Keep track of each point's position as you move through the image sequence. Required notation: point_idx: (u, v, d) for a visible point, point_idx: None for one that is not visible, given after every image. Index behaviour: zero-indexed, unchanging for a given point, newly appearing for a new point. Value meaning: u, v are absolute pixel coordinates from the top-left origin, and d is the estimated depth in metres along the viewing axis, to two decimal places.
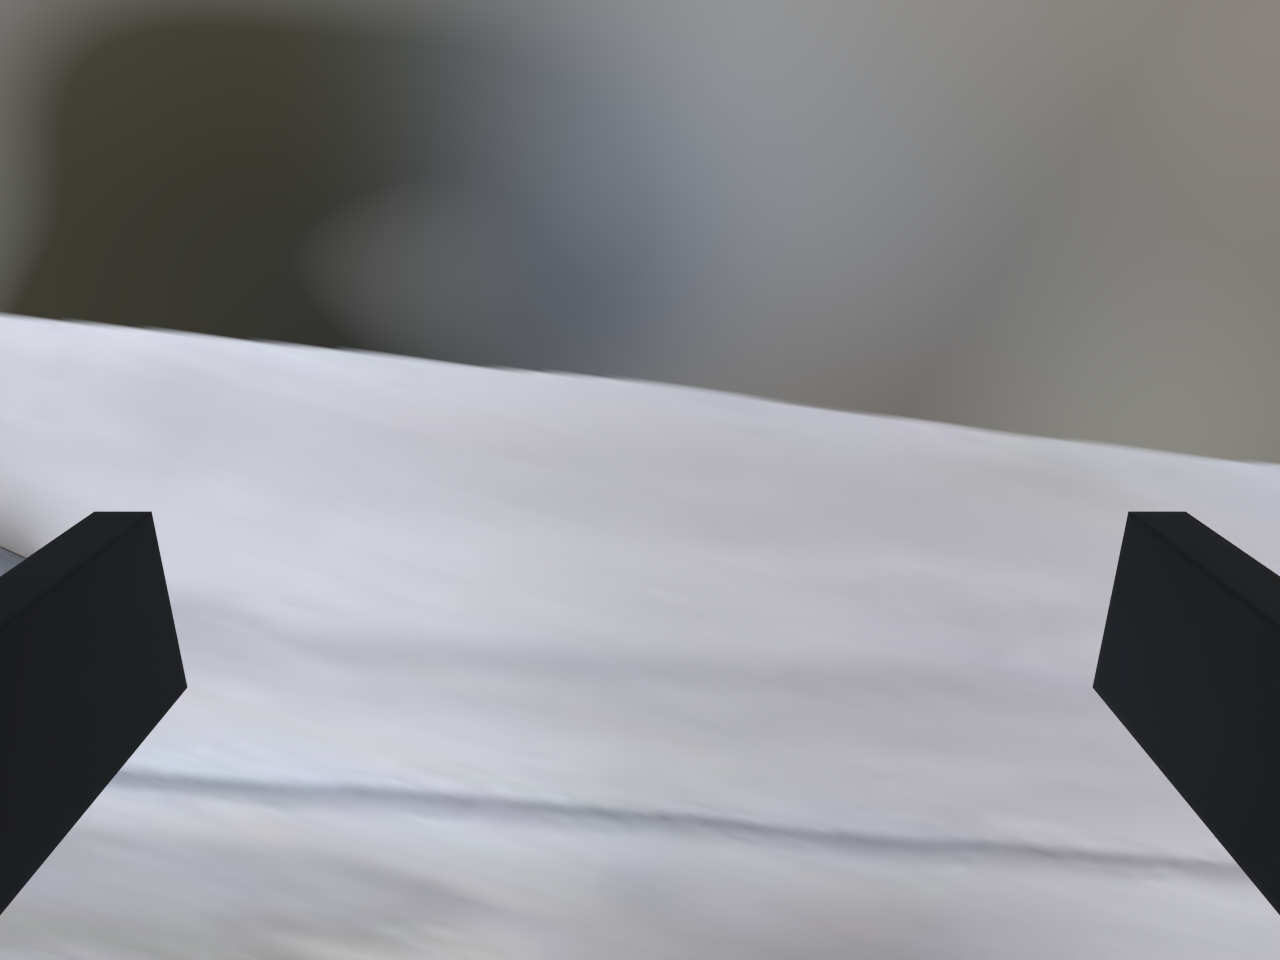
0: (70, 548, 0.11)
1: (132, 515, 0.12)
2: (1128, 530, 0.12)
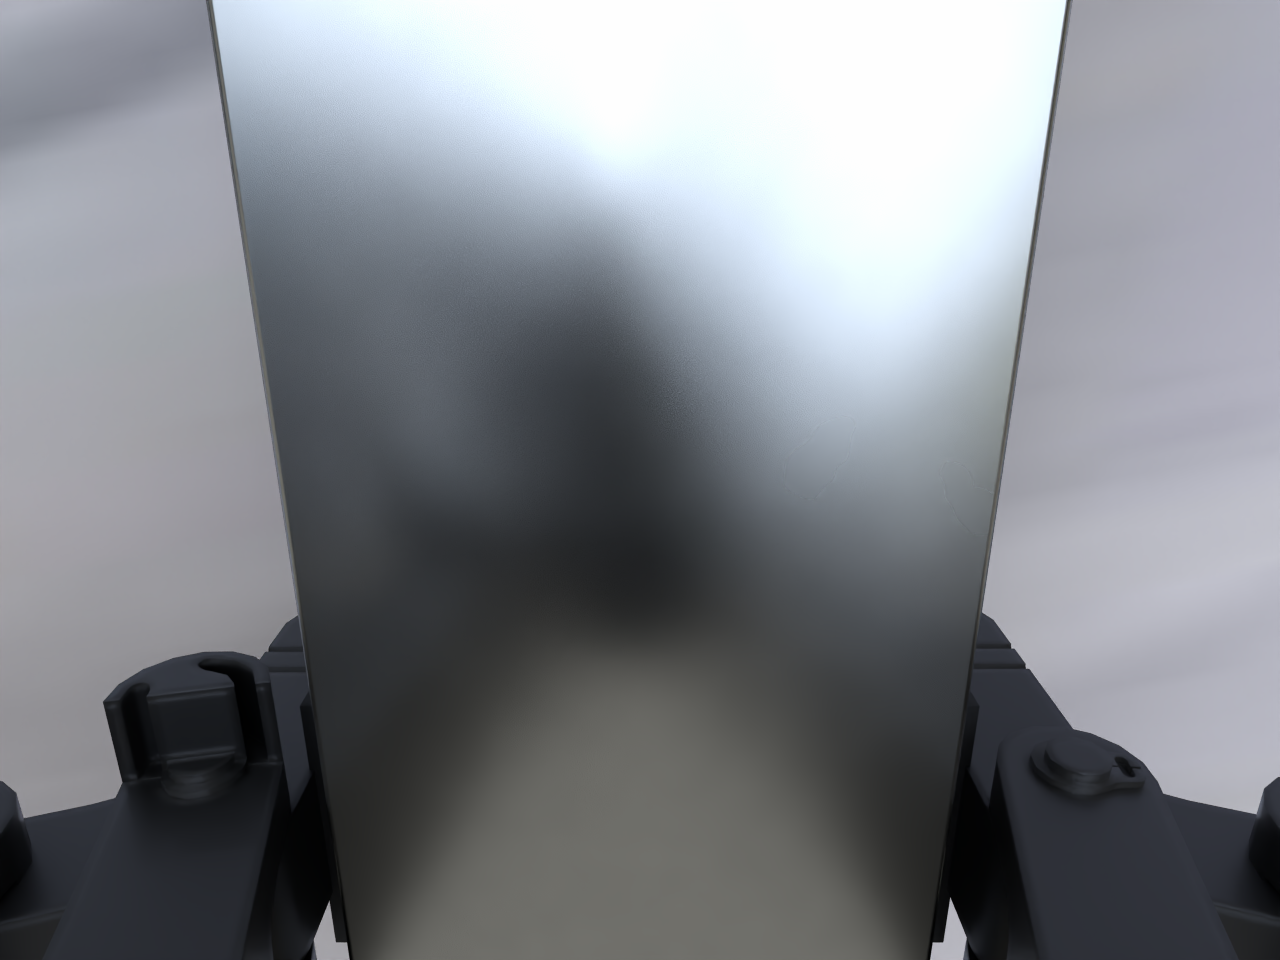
0: None
1: None
2: None
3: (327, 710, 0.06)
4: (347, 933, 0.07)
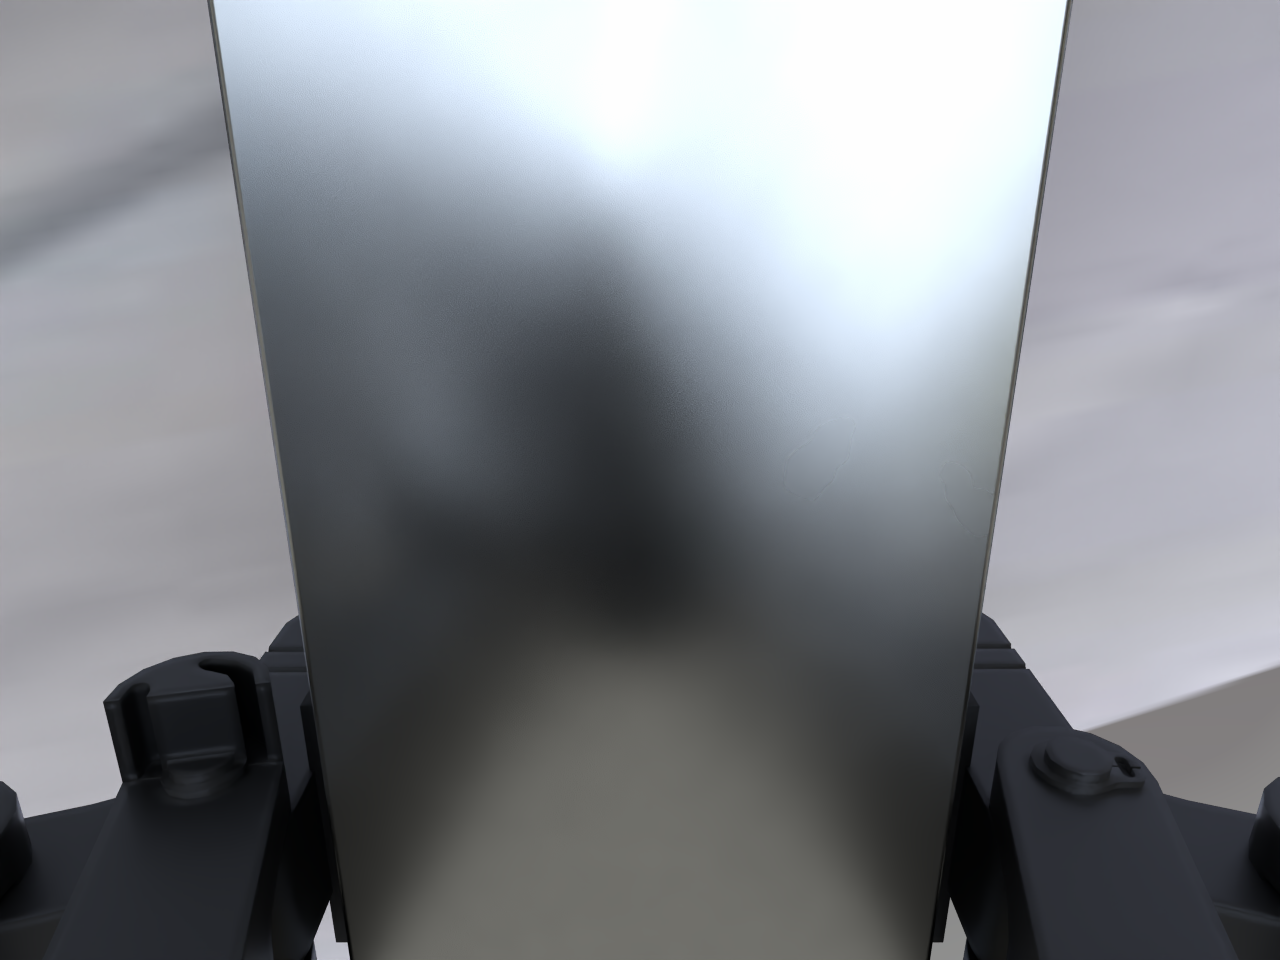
0: None
1: None
2: None
3: (328, 710, 0.06)
4: (347, 933, 0.07)
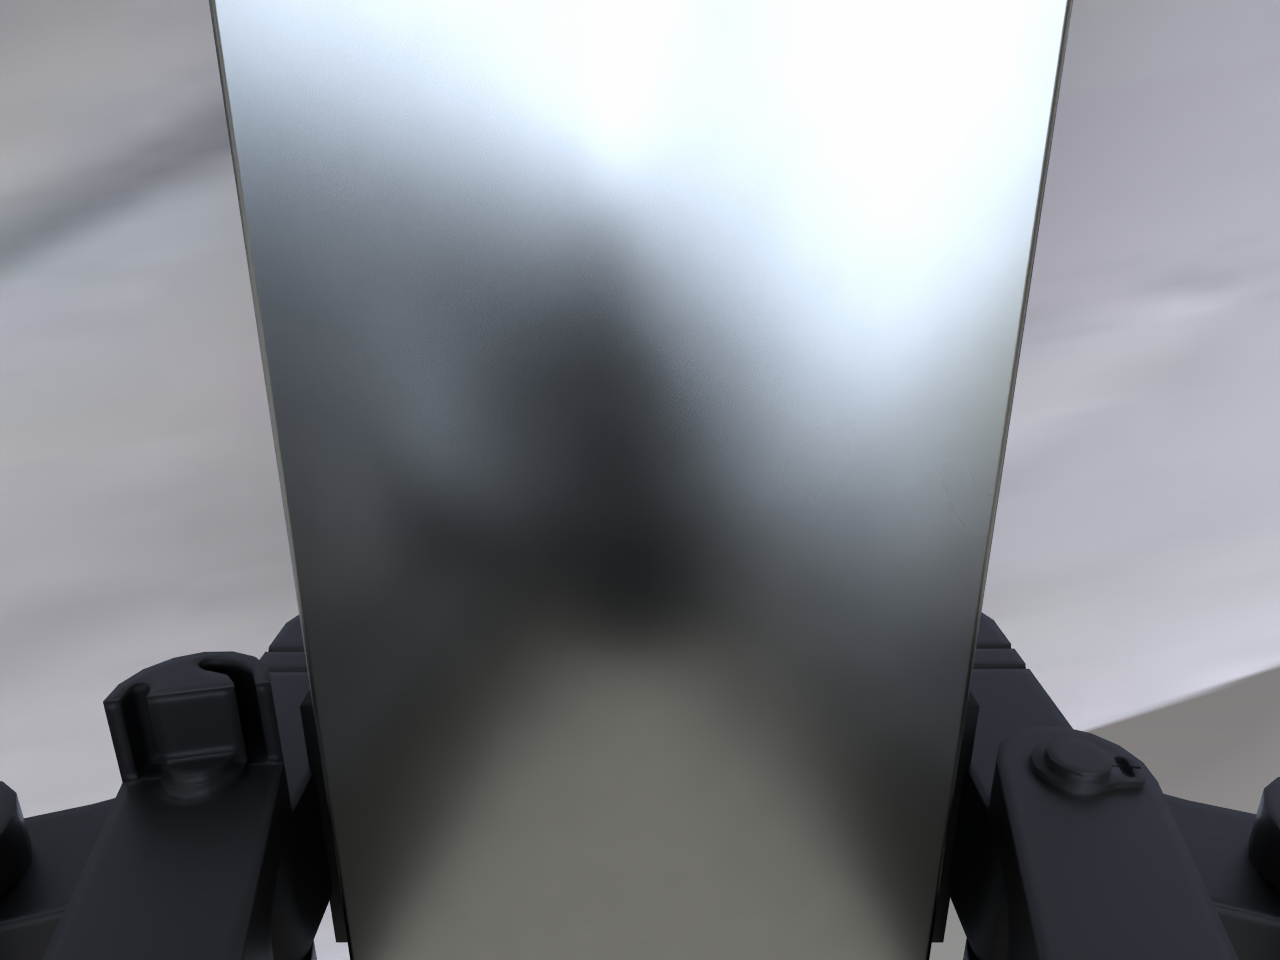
0: None
1: None
2: None
3: (328, 708, 0.06)
4: (348, 932, 0.07)
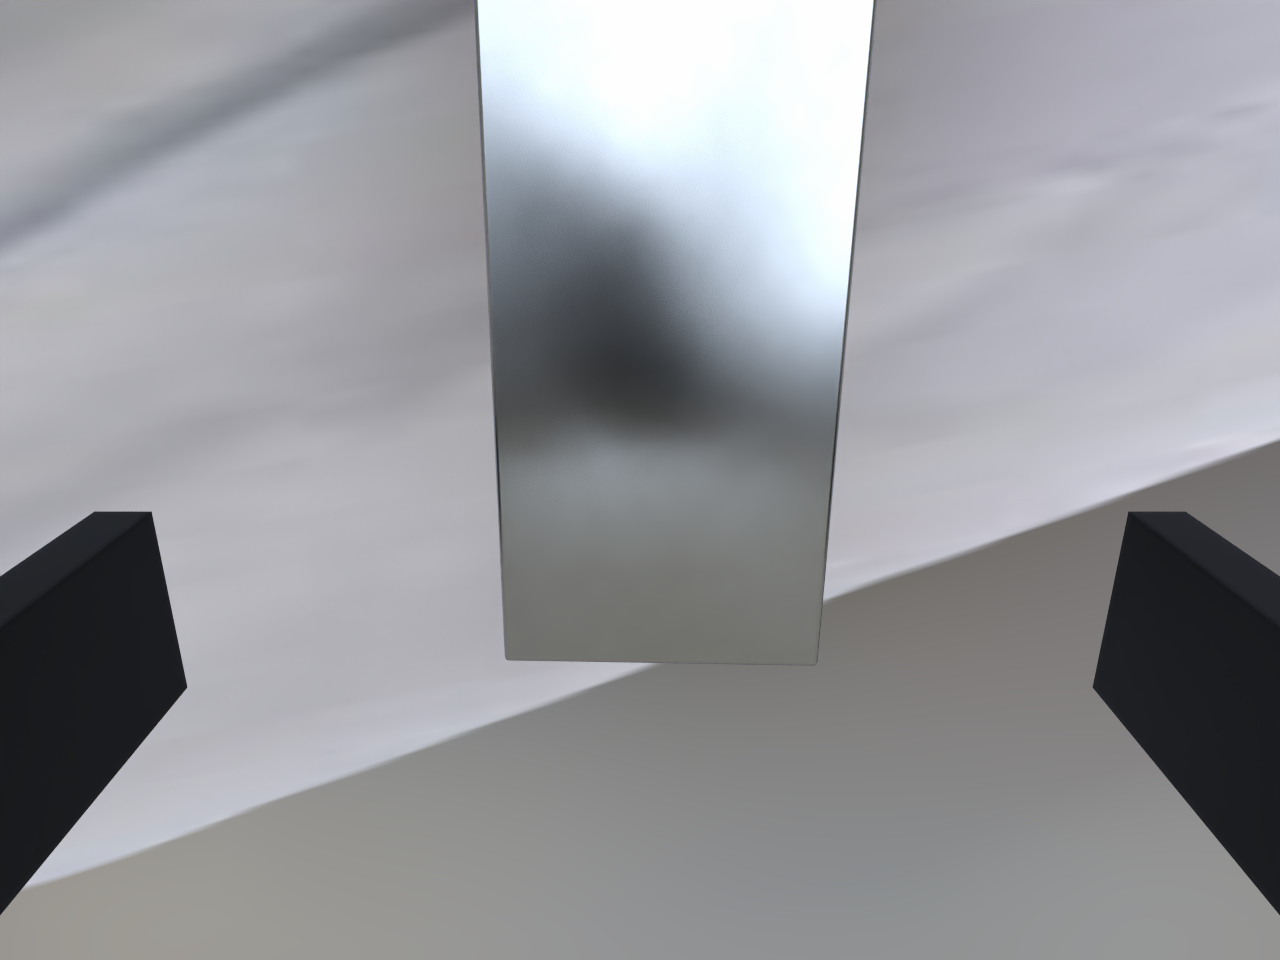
0: (70, 549, 0.11)
1: (132, 515, 0.12)
2: (1128, 530, 0.12)
3: (493, 200, 0.11)
4: (492, 370, 0.12)
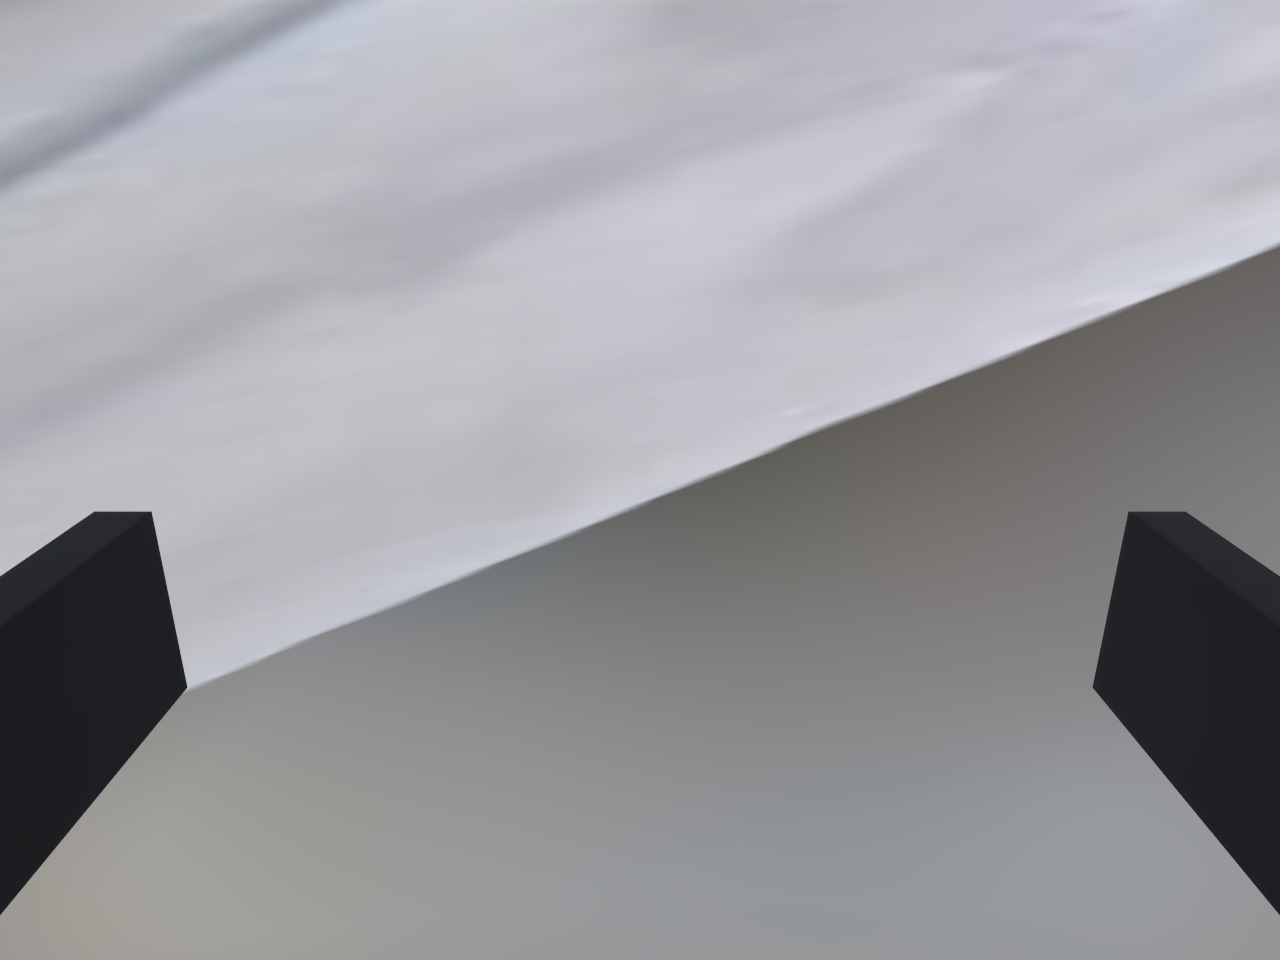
0: (70, 549, 0.11)
1: (132, 515, 0.12)
2: (1128, 530, 0.12)
3: None
4: None
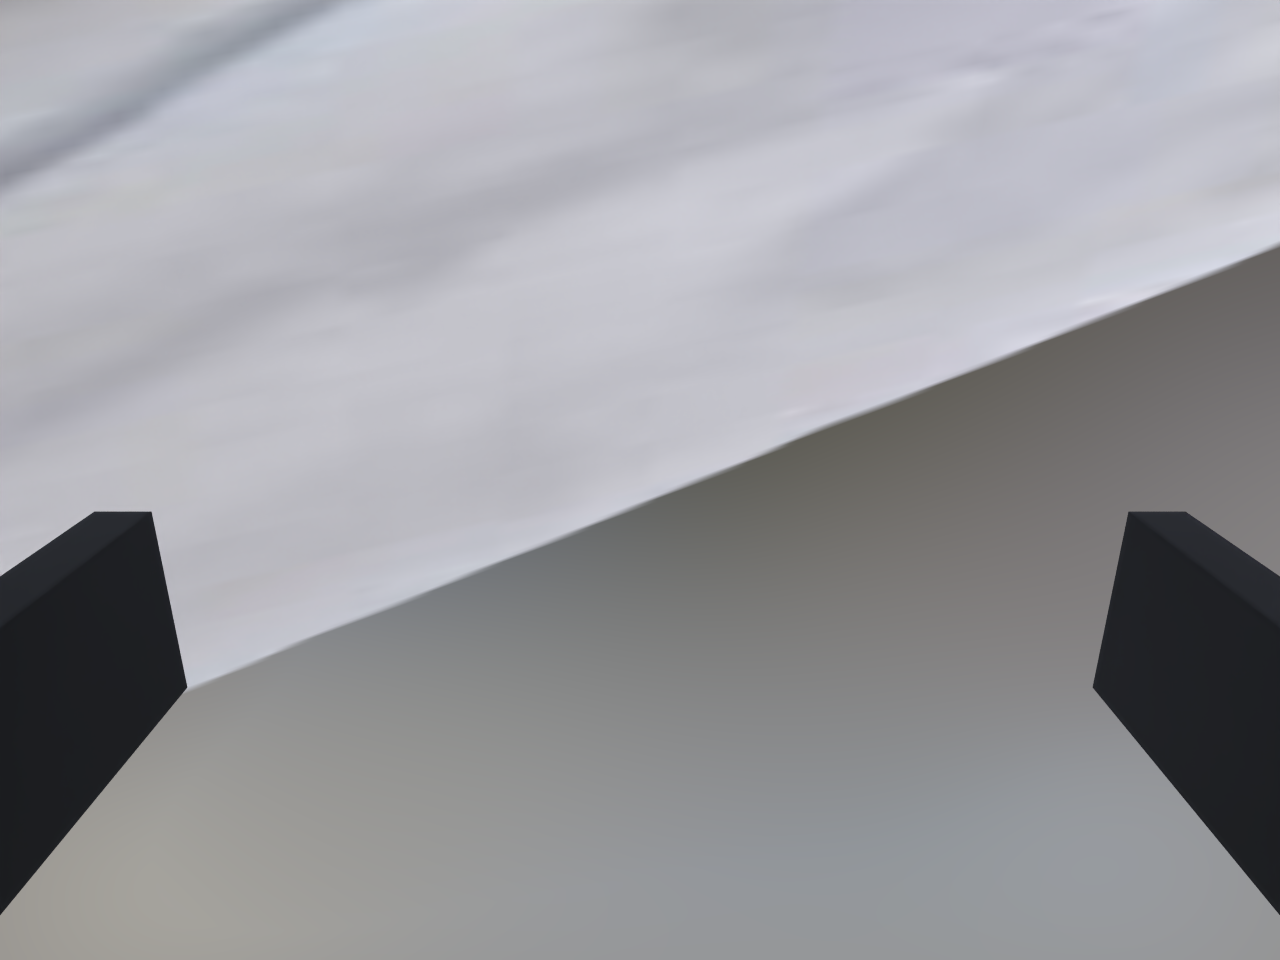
0: (70, 549, 0.11)
1: (132, 515, 0.12)
2: (1128, 530, 0.12)
3: None
4: None
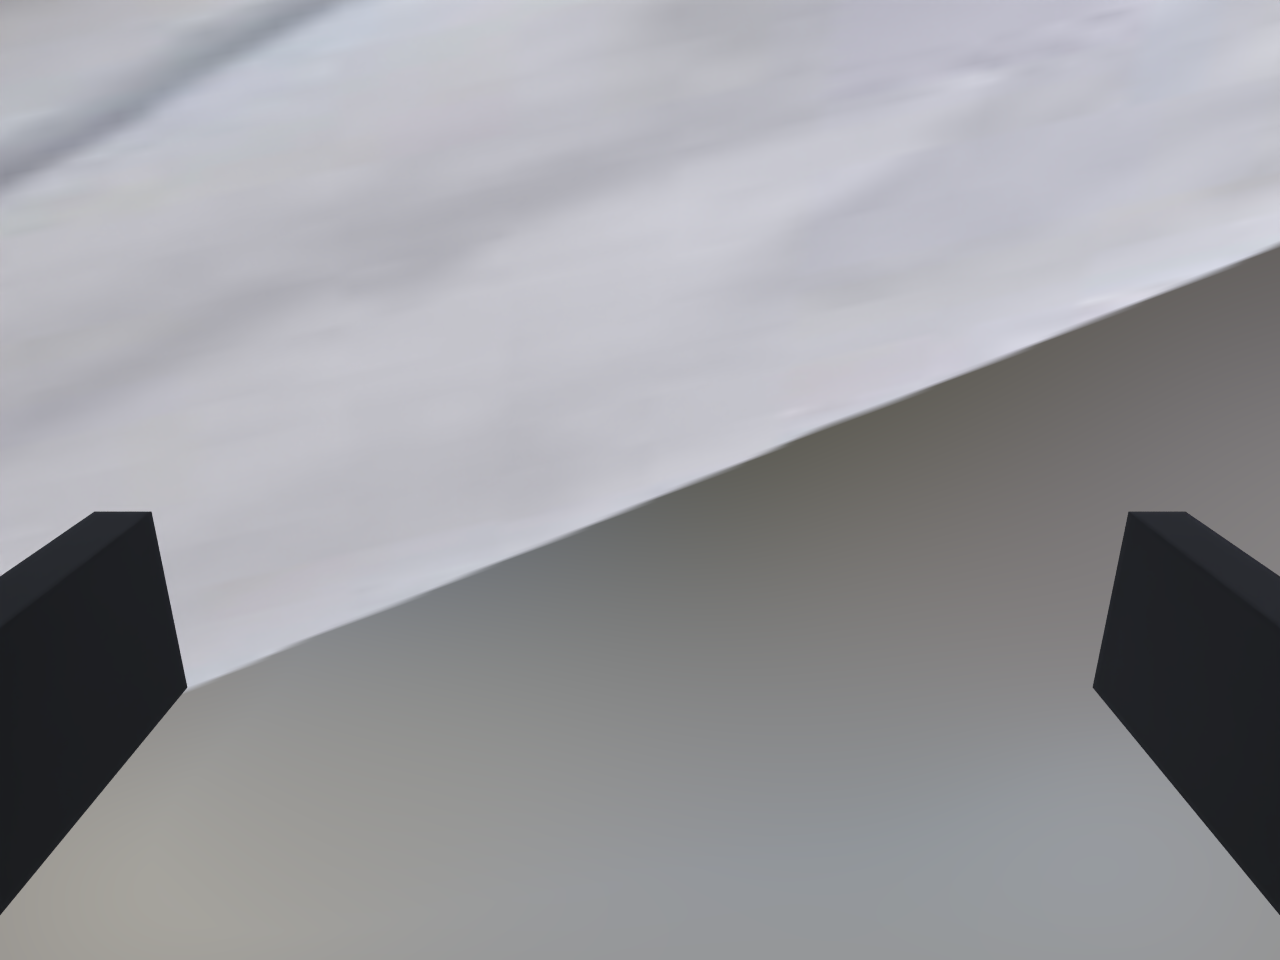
0: (70, 549, 0.11)
1: (132, 515, 0.12)
2: (1128, 530, 0.12)
3: None
4: None
